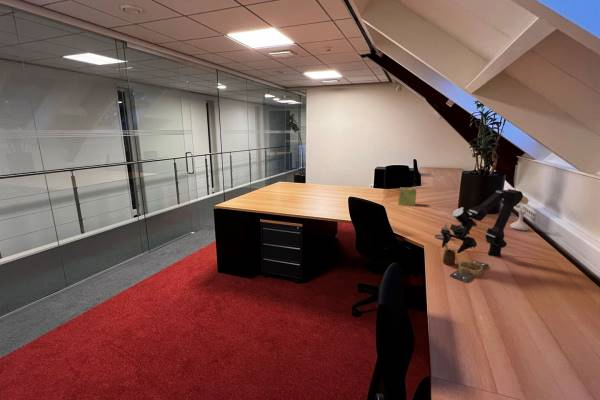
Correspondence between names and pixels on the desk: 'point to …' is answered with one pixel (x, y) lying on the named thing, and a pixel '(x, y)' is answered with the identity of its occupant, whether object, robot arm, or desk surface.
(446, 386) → the desk surface
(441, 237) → the pocket watch
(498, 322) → the desk surface
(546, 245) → the desk surface
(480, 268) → the wooden ring bracket
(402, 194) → the protein box
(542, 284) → the desk surface
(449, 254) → the utensil holder
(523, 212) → the flower in vase
